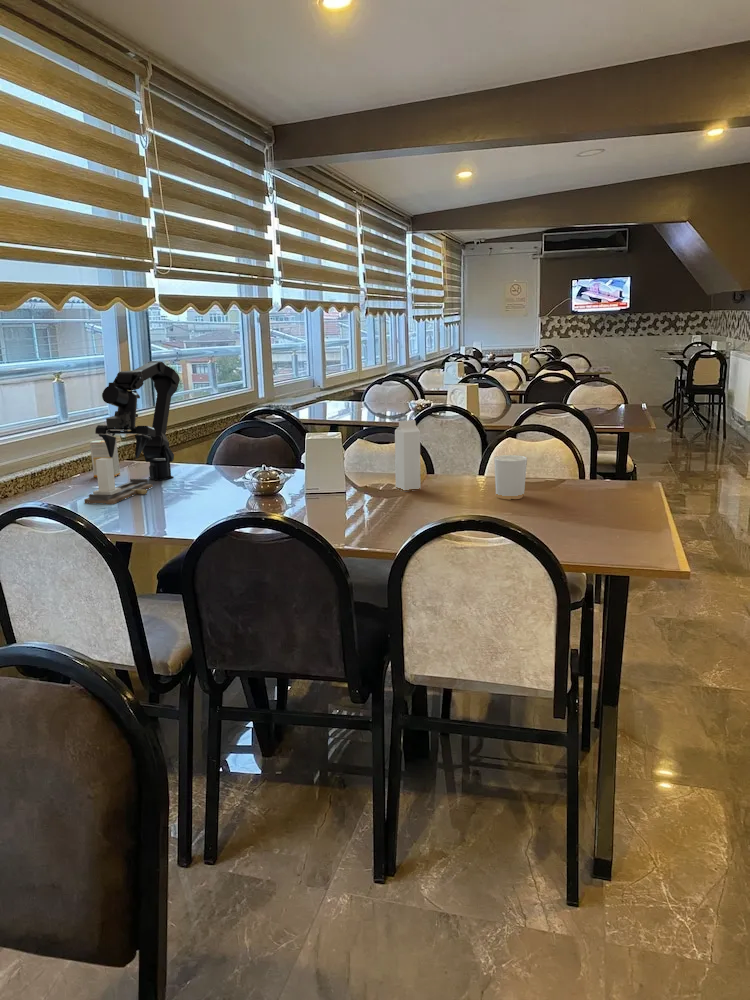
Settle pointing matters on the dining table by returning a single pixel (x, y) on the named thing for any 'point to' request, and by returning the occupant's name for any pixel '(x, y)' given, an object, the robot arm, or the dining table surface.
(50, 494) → the dining table surface
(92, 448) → the supplement box
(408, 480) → the milk
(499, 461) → the candle holder
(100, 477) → the white upright block
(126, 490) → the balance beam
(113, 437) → the robot arm
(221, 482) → the dining table surface
